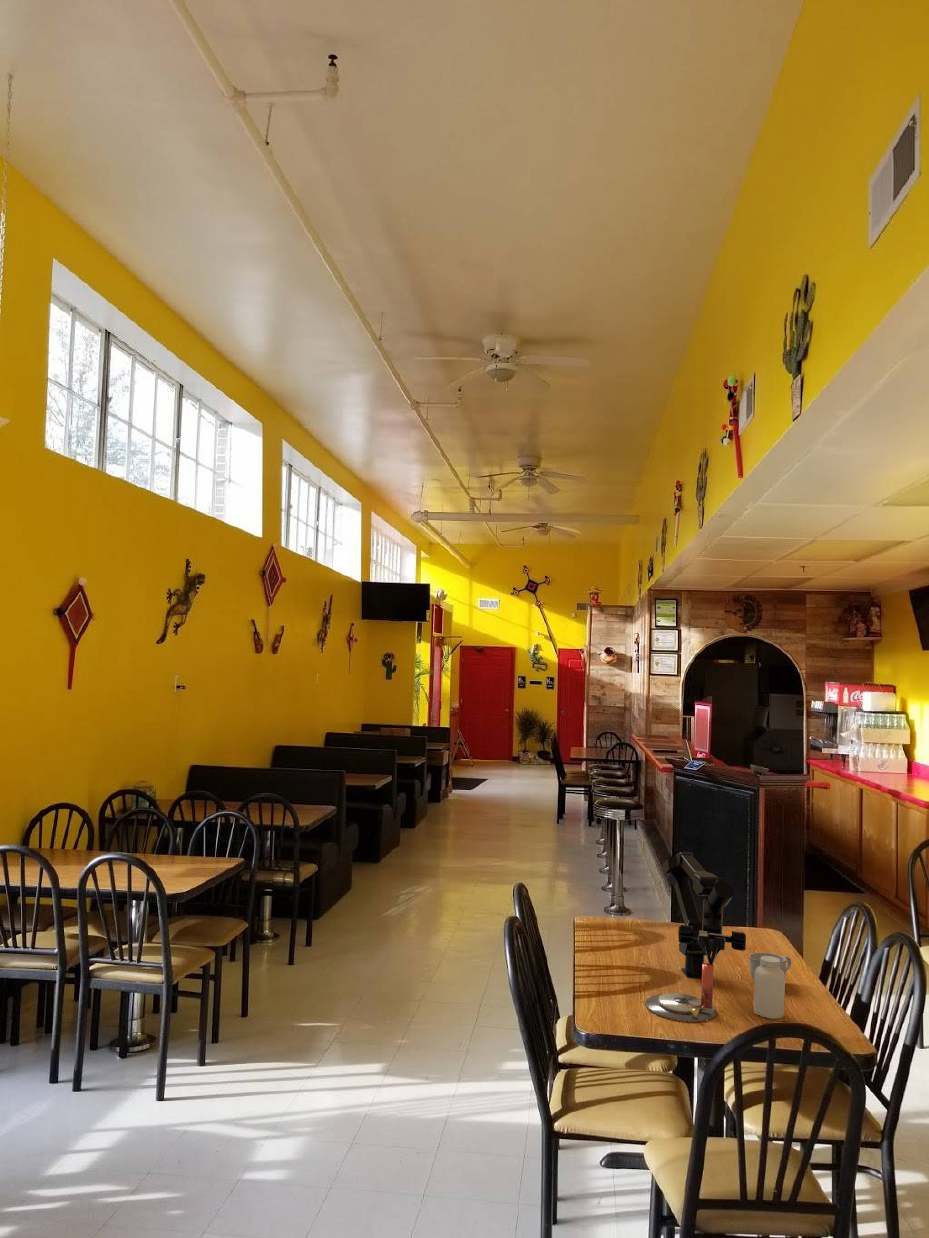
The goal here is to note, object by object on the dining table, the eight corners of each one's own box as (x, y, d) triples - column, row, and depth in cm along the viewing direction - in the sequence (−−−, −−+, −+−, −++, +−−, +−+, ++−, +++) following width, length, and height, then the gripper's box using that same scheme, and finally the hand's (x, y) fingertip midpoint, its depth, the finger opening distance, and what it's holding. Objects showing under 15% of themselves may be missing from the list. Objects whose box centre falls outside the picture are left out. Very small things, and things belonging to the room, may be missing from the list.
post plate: (637, 995, 257) (638, 984, 258) (703, 996, 258) (703, 985, 259) (655, 1021, 238) (656, 1009, 239) (726, 1023, 240) (726, 1011, 240)
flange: (654, 1007, 246) (655, 962, 246) (663, 994, 256) (665, 950, 257) (710, 1019, 239) (711, 972, 240) (717, 1004, 250) (719, 960, 251)
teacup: (759, 989, 267) (760, 962, 267) (741, 977, 277) (742, 950, 278) (802, 988, 269) (803, 961, 270) (782, 976, 280) (783, 950, 280)
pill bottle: (772, 1021, 242) (774, 964, 243) (747, 1011, 249) (748, 956, 249) (789, 1016, 247) (791, 960, 248) (764, 1006, 253) (766, 952, 254)
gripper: (745, 934, 267) (744, 983, 256) (680, 926, 273) (677, 974, 262) (746, 913, 260) (745, 963, 249) (679, 905, 266) (676, 954, 255)
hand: (710, 964), depth 254 cm, fingers closed
